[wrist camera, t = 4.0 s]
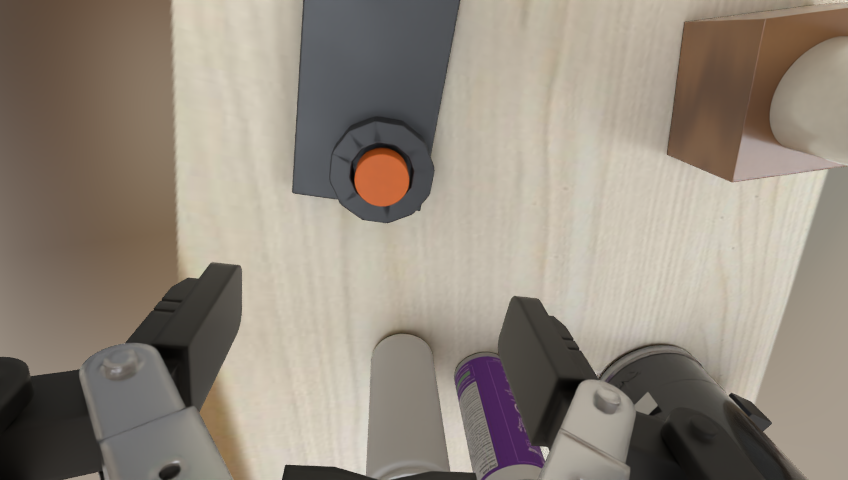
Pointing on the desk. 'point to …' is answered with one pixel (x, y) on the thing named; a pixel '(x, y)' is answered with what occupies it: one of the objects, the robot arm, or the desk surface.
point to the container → (494, 422)
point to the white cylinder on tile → (815, 103)
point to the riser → (744, 89)
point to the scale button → (381, 177)
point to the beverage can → (404, 411)
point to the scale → (370, 95)
